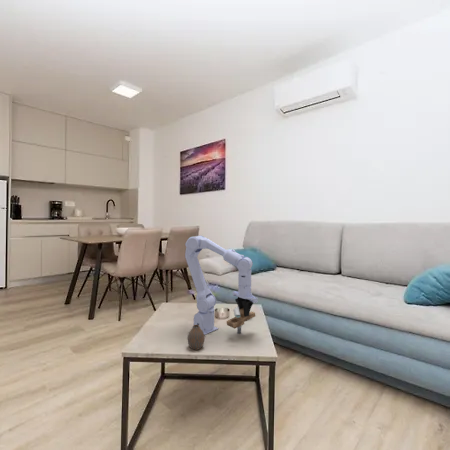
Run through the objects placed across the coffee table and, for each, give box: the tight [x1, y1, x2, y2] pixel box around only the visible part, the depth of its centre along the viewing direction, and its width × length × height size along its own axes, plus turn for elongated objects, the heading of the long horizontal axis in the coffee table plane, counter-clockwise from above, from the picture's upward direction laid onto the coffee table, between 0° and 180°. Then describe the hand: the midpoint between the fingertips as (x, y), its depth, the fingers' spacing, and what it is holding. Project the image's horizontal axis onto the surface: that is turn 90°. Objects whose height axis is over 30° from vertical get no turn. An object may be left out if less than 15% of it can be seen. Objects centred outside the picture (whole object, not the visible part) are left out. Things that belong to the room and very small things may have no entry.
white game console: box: [233, 305, 240, 316], centre depth 154 cm, size 17×5×10 cm, turn 2°
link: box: [226, 308, 256, 329], centre depth 127 cm, size 14×5×5 cm, turn 128°
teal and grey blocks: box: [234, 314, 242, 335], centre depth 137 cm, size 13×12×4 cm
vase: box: [187, 324, 206, 350], centre depth 115 cm, size 7×7×9 cm
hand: (244, 315), depth 127 cm, fingers closed on link, 2 cm apart
